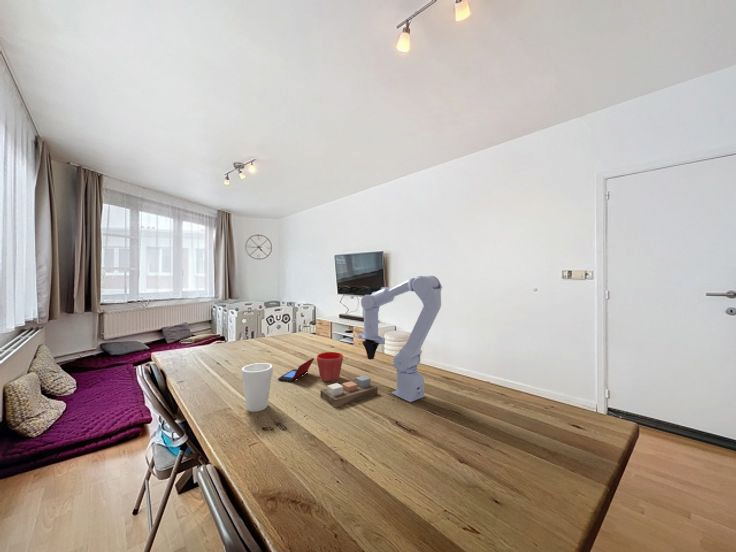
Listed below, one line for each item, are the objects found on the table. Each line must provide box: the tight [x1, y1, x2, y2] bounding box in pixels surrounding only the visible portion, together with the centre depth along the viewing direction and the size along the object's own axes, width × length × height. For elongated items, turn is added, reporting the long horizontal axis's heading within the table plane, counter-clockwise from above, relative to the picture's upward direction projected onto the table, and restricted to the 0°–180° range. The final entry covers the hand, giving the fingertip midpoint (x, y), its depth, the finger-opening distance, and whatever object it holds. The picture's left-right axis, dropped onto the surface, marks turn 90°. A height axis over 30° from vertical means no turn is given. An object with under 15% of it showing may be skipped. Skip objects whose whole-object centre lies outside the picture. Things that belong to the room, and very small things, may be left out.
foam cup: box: [240, 362, 274, 413], centre depth 93 cm, size 10×9×13 cm
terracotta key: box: [341, 380, 357, 392], centre depth 102 cm, size 4×4×3 cm
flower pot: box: [316, 351, 344, 382], centre depth 119 cm, size 11×11×10 cm
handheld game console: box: [277, 357, 315, 383], centre depth 121 cm, size 12×11×7 cm
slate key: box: [354, 375, 371, 388], centre depth 106 cm, size 4×4×3 cm
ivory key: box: [326, 382, 343, 396], centre depth 99 cm, size 4×4×3 cm
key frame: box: [320, 380, 379, 409], centre depth 102 cm, size 10×18×2 cm, turn 128°
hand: (370, 358), depth 113 cm, fingers closed
